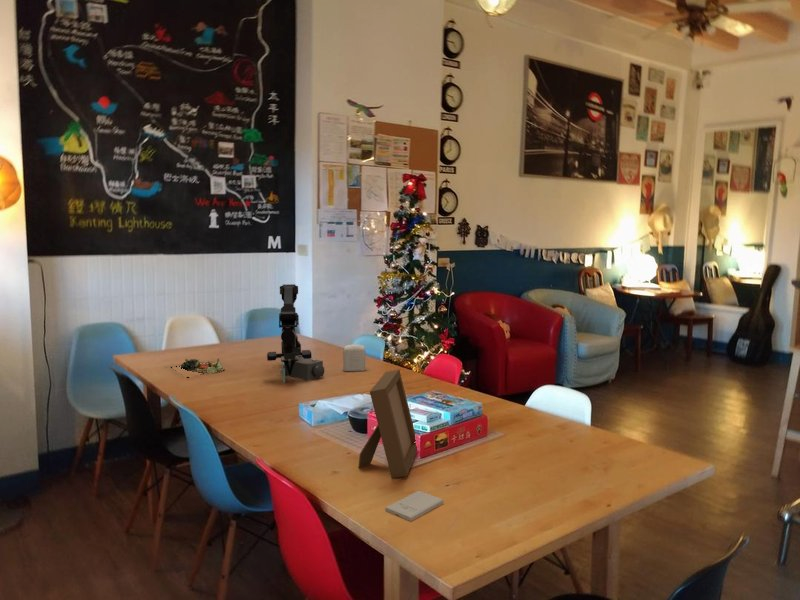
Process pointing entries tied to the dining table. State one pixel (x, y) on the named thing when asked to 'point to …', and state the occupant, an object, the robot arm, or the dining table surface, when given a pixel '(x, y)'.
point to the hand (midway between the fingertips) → (289, 374)
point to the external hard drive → (414, 505)
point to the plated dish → (202, 366)
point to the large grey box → (306, 368)
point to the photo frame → (391, 426)
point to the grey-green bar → (283, 372)
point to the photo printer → (354, 358)
